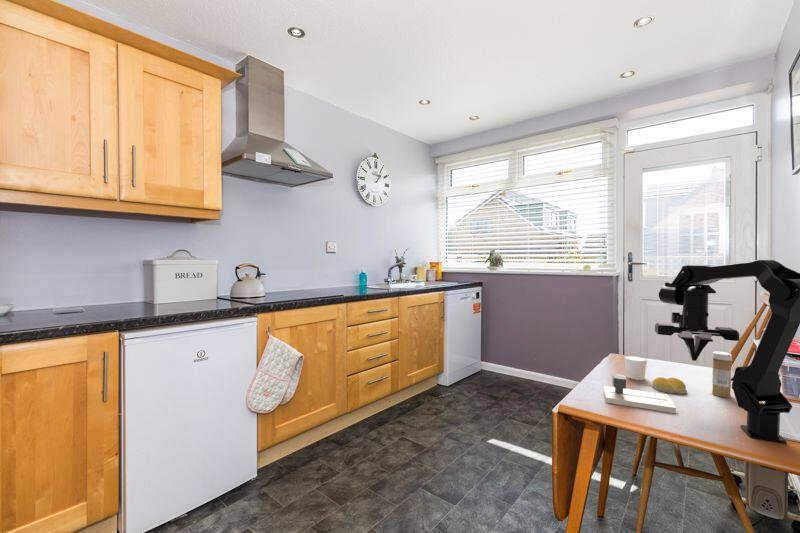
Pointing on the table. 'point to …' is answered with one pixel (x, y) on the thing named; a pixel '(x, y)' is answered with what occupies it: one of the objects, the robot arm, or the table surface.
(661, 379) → the bread roll
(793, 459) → the table surface
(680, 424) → the table surface
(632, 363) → the white cup
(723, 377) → the sprinkles bottle
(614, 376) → the fader knob
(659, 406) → the fader panel
